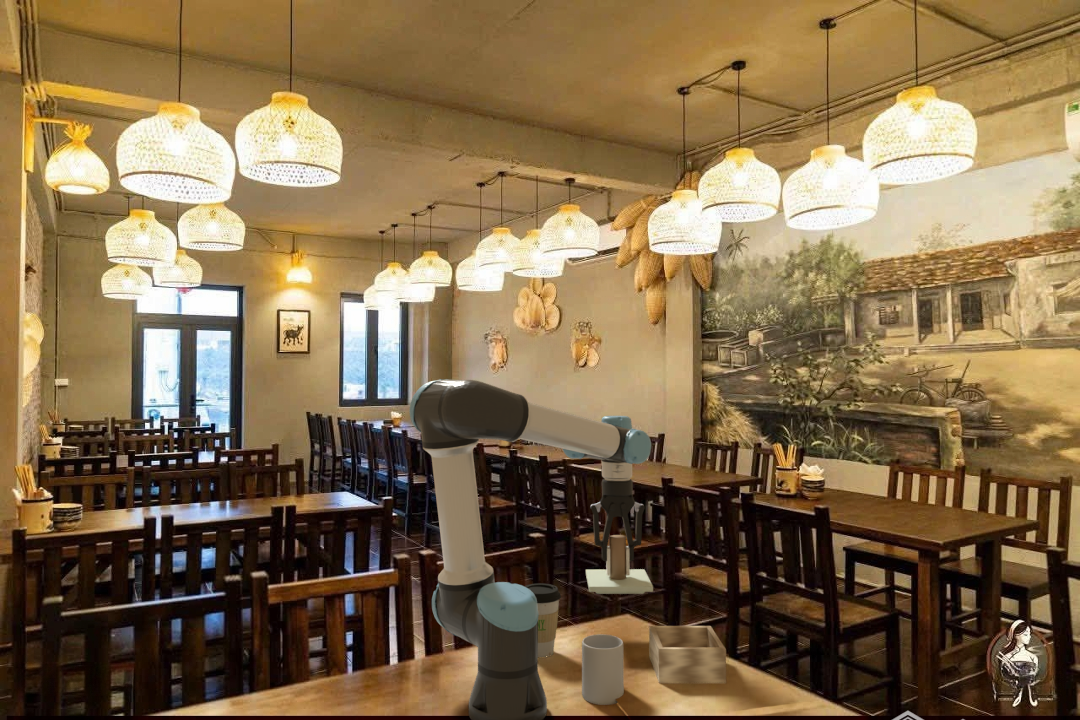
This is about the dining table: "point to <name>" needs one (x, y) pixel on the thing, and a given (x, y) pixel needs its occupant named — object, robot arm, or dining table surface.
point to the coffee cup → (546, 616)
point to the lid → (618, 573)
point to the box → (687, 654)
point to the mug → (602, 669)
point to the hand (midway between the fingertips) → (617, 573)
